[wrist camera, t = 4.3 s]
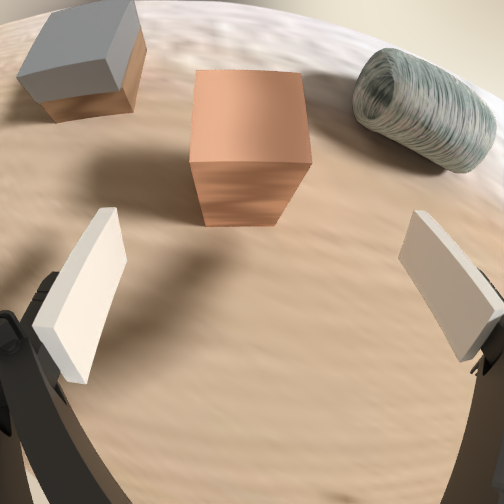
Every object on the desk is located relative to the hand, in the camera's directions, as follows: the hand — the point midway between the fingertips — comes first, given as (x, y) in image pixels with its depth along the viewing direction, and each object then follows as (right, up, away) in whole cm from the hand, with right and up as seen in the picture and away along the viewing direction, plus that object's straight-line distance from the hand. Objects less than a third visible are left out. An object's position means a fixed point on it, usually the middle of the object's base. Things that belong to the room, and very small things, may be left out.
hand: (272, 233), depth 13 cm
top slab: (-15, +15, +8) cm, 23 cm away
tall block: (-2, +3, +10) cm, 11 cm away
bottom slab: (-15, +15, +11) cm, 24 cm away
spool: (+14, +11, +13) cm, 22 cm away
